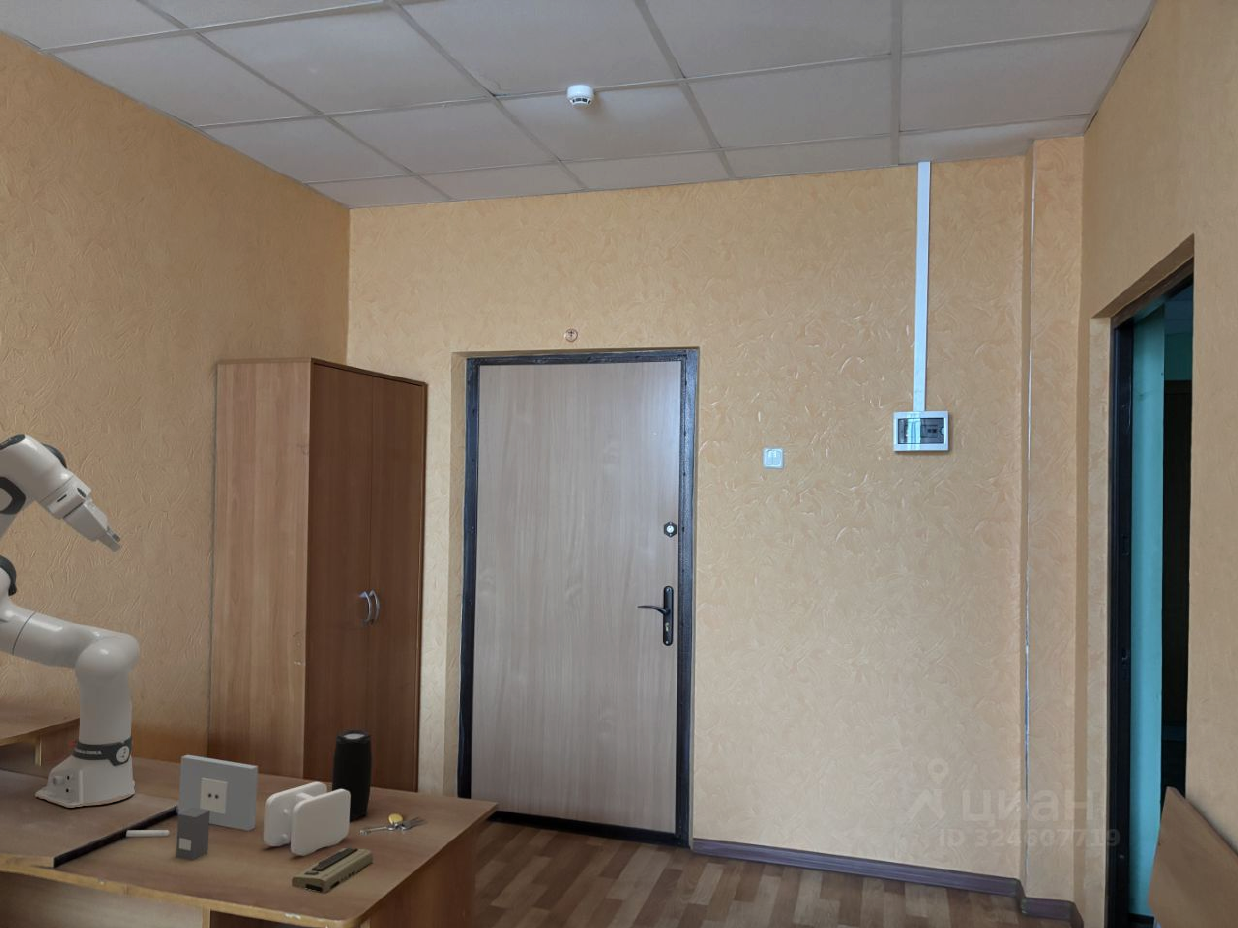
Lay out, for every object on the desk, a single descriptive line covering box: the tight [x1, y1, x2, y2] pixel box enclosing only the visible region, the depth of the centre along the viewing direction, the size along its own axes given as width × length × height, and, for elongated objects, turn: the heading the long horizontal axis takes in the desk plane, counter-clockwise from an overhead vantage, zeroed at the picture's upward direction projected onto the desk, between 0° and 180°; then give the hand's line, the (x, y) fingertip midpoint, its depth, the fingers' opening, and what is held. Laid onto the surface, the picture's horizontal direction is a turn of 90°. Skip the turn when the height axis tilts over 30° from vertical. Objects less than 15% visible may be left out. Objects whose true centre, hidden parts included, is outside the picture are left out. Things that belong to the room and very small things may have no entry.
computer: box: [291, 847, 373, 894], centre depth 183 cm, size 16×8×3 cm, turn 160°
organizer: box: [263, 781, 351, 857], centre depth 197 cm, size 15×11×12 cm
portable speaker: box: [331, 728, 373, 822], centre depth 214 cm, size 9×9×20 cm
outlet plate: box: [177, 754, 259, 832], centre depth 206 cm, size 20×2×14 cm, turn 73°
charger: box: [175, 807, 210, 861], centre depth 189 cm, size 4×5×9 cm
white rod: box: [125, 829, 170, 838], centre depth 197 cm, size 9×1×1 cm, turn 98°
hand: (118, 545), depth 192 cm, fingers open, 8 cm apart
